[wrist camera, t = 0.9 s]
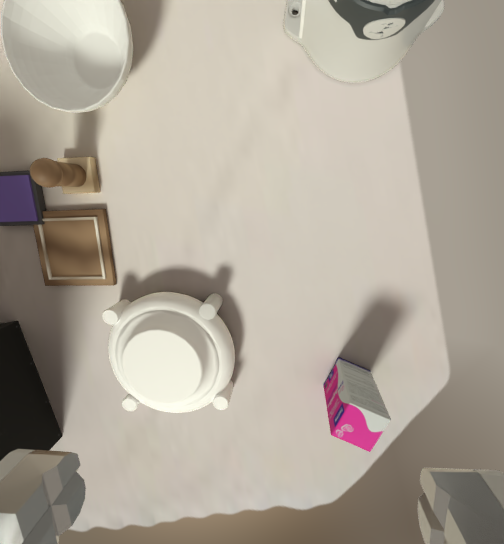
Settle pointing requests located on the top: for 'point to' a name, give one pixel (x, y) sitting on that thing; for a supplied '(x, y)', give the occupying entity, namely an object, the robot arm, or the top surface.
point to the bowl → (68, 50)
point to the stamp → (67, 174)
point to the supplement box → (355, 405)
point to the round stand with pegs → (171, 352)
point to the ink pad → (20, 199)
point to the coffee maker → (22, 397)
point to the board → (75, 248)
